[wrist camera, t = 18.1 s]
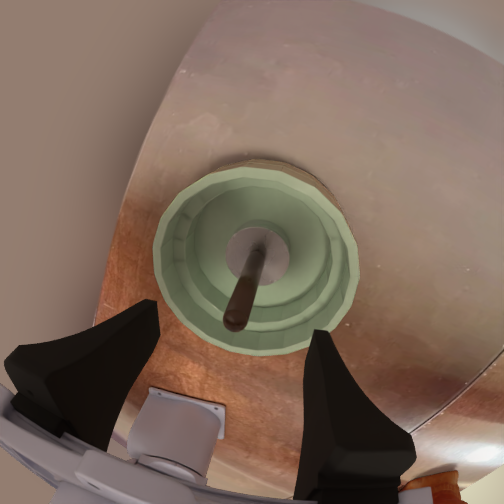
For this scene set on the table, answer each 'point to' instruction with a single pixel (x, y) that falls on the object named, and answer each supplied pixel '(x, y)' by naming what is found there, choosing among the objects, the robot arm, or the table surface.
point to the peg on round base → (253, 266)
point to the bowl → (223, 281)
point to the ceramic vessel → (439, 487)
